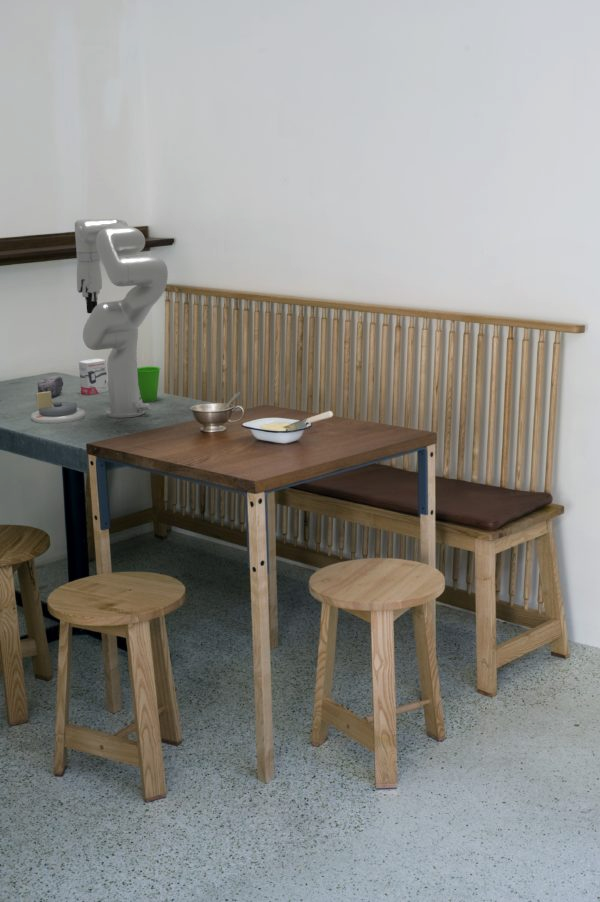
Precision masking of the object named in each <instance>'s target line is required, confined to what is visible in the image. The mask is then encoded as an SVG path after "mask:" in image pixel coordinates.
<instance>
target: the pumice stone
mask: <svg viewBox="0 0 600 902" xmlns="http://www.w3.org/2000/svg"><path fill="white" fill-rule="evenodd" d="M63 387H64V381H63V378H62V376H60V375H52V376H46V377H44V378H42V379H41V380H39V381H38V382H37V393H40V392H48V391H50V392H51V398H52V399H54V398H57V397H58V396H60V395H61V393H62V391H63Z"/></svg>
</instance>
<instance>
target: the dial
mask: <svg viewBox="0 0 600 902" xmlns="http://www.w3.org/2000/svg"><path fill="white" fill-rule="evenodd" d="M35 397H36V404H37V405H36V408H37V409H38V411H39V414H40V415H44V416H62V415H69V414H73V413H75V412H77V408H78V407H77V403H75V402H72V401H70V402H69V401H54V402H52V401H53V398H51V392H50V391H48V392H40V393H38V392H36V394H35Z"/></svg>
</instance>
